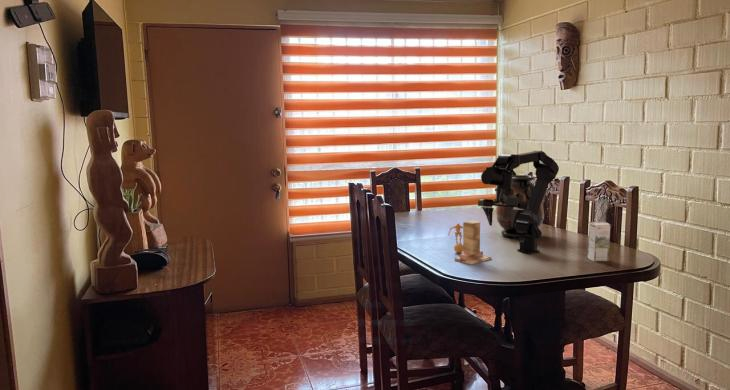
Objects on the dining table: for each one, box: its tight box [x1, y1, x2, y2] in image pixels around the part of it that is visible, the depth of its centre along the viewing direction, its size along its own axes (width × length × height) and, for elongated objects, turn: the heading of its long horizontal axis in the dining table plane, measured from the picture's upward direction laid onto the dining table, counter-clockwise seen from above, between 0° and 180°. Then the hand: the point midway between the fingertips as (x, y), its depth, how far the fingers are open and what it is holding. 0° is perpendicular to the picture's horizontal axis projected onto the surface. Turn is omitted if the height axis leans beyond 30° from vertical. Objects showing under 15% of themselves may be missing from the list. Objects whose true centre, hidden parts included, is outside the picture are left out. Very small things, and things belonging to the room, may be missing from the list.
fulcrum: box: [454, 250, 492, 265], centre depth 209 cm, size 12×8×3 cm, turn 128°
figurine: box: [448, 223, 463, 254], centre depth 221 cm, size 8×6×12 cm
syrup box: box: [587, 221, 611, 263], centre depth 205 cm, size 6×6×14 cm
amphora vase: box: [495, 174, 545, 240], centre depth 250 cm, size 22×22×28 cm
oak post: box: [462, 220, 481, 255], centre depth 208 cm, size 4×4×12 cm
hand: (501, 226), depth 209 cm, fingers open, 9 cm apart
